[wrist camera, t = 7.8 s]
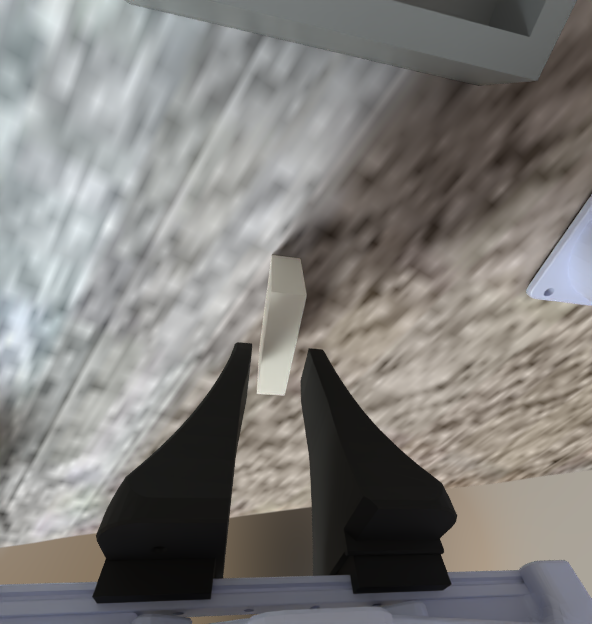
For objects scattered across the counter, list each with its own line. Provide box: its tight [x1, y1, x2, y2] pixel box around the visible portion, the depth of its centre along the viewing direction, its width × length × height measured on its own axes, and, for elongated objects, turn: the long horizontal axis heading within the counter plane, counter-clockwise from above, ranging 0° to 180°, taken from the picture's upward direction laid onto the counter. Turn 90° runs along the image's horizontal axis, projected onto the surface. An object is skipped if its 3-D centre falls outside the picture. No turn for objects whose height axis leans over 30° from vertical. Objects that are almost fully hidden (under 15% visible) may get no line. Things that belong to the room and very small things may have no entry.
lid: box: [257, 255, 307, 395], centre depth 15 cm, size 12×14×4 cm
